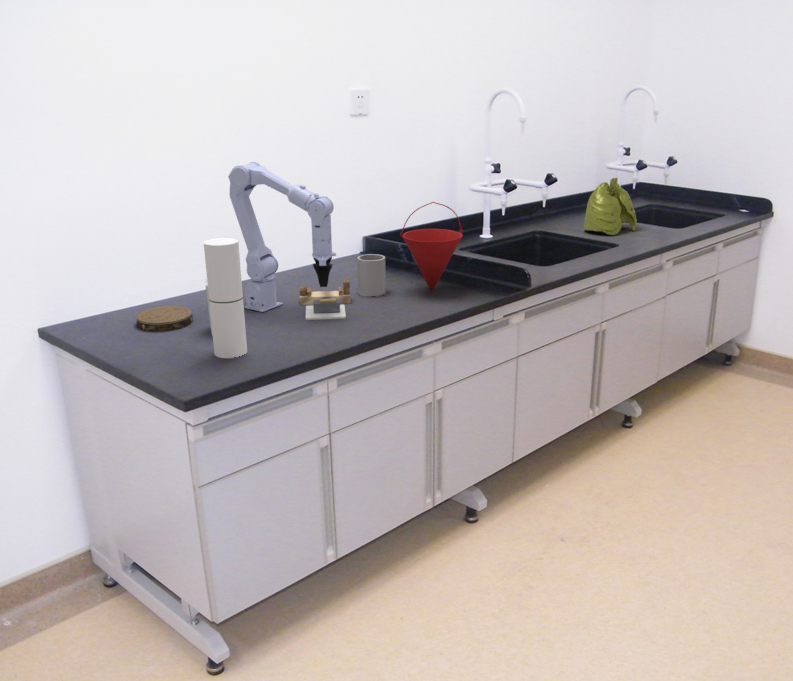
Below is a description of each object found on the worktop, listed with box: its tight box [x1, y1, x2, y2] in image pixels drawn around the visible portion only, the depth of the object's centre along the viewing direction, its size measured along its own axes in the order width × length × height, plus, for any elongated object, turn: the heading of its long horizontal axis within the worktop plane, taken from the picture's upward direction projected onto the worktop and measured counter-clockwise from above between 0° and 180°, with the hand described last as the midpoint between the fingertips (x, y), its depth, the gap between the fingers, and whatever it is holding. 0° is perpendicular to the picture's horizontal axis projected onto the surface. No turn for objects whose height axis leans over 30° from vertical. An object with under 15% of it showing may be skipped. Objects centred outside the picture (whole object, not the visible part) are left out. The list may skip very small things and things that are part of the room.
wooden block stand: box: [298, 279, 352, 306], centre depth 242 cm, size 16×6×6 cm, turn 95°
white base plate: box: [305, 304, 347, 321], centre depth 232 cm, size 12×12×1 cm
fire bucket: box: [399, 201, 464, 292], centre depth 248 cm, size 22×20×30 cm
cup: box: [356, 253, 387, 297], centre depth 250 cm, size 9×9×12 cm
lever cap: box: [312, 299, 341, 314], centre depth 231 cm, size 8×4×4 cm, turn 95°
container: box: [203, 237, 248, 359], centre depth 196 cm, size 9×9×30 cm
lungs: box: [583, 177, 638, 236], centre depth 334 cm, size 25×16×24 cm, turn 126°
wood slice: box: [136, 305, 194, 333], centre depth 224 cm, size 16×16×3 cm
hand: (323, 283), depth 229 cm, fingers open, 7 cm apart
